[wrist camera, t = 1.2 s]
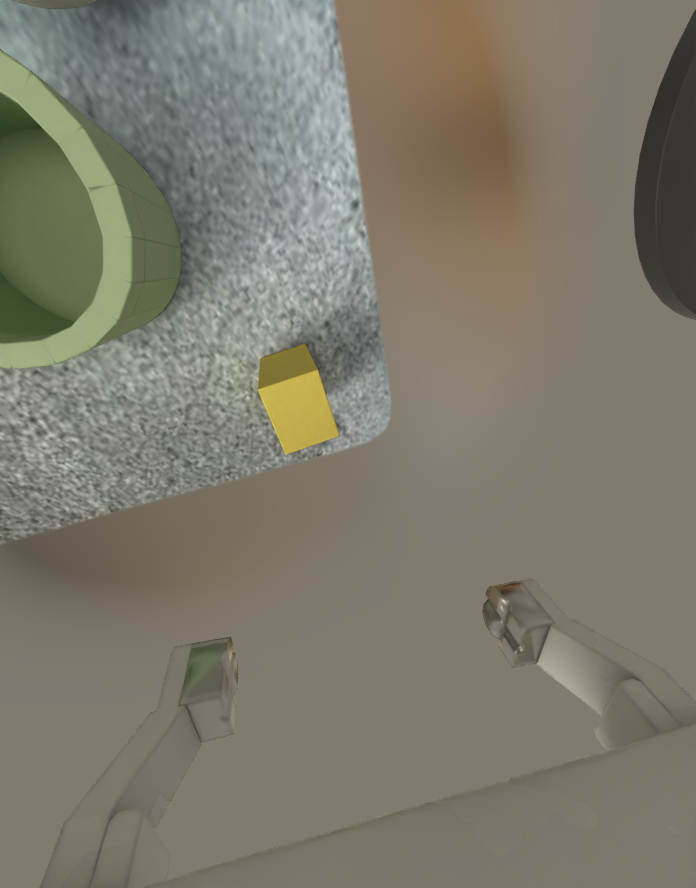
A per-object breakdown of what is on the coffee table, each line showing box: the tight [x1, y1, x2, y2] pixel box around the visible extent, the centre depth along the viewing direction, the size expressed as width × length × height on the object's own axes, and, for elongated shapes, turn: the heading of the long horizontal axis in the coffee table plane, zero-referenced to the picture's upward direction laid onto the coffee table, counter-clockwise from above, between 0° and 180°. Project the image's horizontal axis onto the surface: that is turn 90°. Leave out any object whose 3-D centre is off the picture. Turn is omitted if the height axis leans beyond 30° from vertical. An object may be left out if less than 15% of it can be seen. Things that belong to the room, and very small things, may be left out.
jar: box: [0, 49, 182, 369], centre depth 15 cm, size 10×10×8 cm
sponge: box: [258, 344, 339, 454], centre depth 22 cm, size 3×4×7 cm
